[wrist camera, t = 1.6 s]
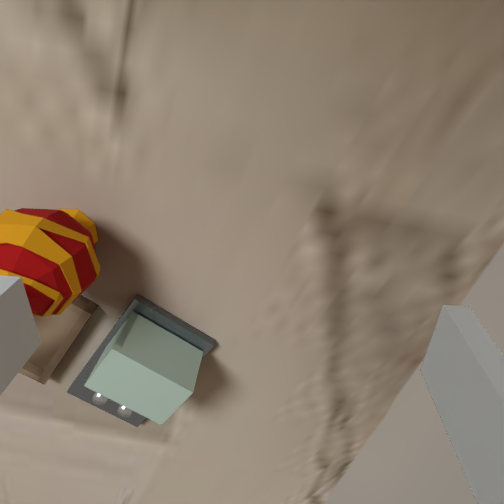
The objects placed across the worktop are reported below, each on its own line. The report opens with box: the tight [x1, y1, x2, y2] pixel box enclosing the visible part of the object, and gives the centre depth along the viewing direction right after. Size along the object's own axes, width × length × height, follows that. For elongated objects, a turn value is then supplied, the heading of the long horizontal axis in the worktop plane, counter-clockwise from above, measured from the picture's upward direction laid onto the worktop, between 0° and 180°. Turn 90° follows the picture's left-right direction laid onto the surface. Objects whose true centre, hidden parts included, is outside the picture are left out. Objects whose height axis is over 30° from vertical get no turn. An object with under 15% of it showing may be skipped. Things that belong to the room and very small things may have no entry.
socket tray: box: [19, 295, 98, 384], centre depth 46 cm, size 15×15×2 cm
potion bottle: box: [0, 208, 101, 317], centre depth 34 cm, size 10×10×15 cm
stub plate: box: [67, 294, 216, 427], centre depth 48 cm, size 11×20×4 cm, turn 144°
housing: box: [84, 311, 203, 425], centre depth 44 cm, size 10×7×6 cm
